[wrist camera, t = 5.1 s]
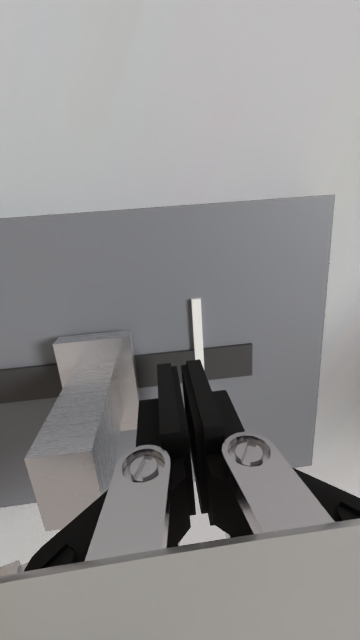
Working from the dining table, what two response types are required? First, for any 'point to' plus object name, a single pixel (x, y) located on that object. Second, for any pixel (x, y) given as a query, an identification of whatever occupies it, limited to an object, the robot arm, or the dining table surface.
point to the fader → (84, 424)
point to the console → (169, 311)
